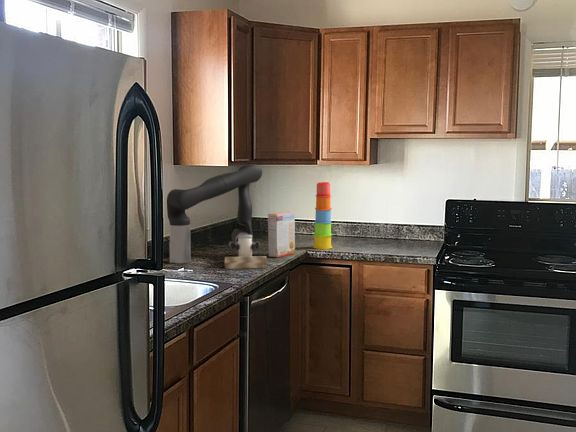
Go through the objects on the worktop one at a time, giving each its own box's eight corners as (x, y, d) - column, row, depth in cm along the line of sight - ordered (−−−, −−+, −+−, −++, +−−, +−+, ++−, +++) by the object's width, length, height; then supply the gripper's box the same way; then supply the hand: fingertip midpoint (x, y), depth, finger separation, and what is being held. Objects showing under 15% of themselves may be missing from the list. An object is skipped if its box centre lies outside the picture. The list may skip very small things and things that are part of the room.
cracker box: (286, 253, 310) (286, 211, 308) (295, 254, 306) (295, 212, 304) (267, 256, 299) (267, 213, 297) (277, 257, 296) (277, 214, 294)
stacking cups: (335, 247, 329) (336, 182, 325) (326, 249, 320) (326, 182, 317) (319, 245, 334) (319, 181, 331) (309, 248, 326) (309, 182, 323)
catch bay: (224, 268, 267) (224, 257, 267) (224, 264, 278) (224, 253, 278) (266, 267, 269) (266, 256, 269) (264, 263, 280) (264, 252, 280)
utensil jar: (238, 263, 270) (238, 236, 269) (237, 261, 276) (237, 234, 275) (252, 263, 271) (252, 236, 269) (252, 260, 277) (252, 234, 276)
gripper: (228, 233, 286) (228, 239, 269) (259, 233, 287) (261, 238, 271) (228, 249, 287) (229, 256, 270) (259, 249, 288) (262, 255, 272)
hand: (245, 247), depth 270 cm, fingers closed on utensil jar, 6 cm apart
